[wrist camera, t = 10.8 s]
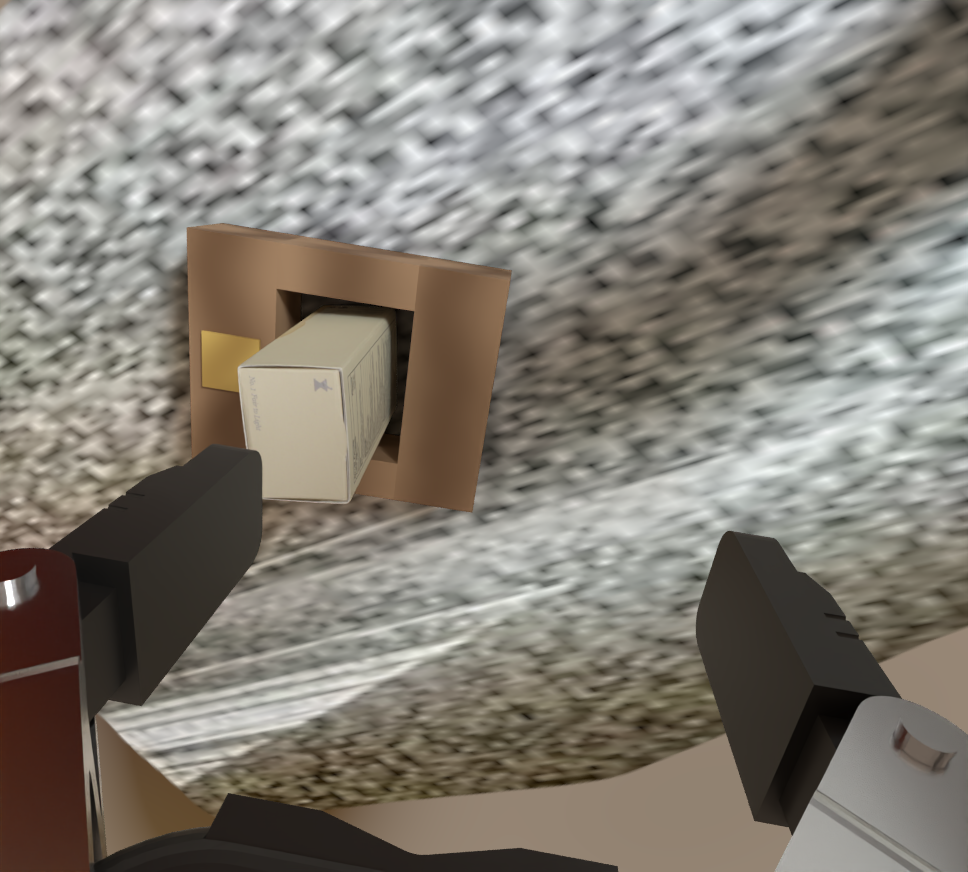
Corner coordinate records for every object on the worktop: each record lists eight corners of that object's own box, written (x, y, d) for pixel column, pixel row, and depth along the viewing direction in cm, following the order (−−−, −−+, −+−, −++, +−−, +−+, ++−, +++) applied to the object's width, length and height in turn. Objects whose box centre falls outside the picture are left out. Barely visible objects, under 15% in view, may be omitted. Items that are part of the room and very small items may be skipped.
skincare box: (322, 303, 36) (230, 356, 25) (400, 306, 36) (343, 362, 25) (328, 408, 38) (247, 500, 27) (401, 412, 38) (350, 506, 27)
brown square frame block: (511, 270, 35) (510, 280, 31) (476, 481, 40) (471, 514, 36) (222, 223, 35) (184, 227, 31) (223, 440, 39) (190, 468, 36)
